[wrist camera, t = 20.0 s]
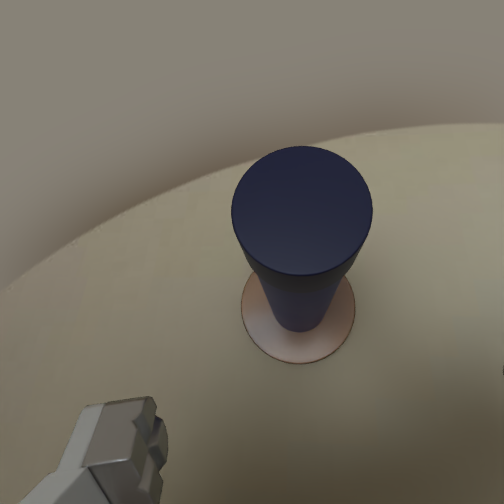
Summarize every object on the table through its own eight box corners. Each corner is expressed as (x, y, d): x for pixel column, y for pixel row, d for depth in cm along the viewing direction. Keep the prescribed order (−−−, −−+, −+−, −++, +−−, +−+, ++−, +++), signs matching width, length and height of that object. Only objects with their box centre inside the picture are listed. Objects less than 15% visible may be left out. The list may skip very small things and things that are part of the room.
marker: (258, 308, 22) (202, 217, 9) (295, 266, 23) (291, 121, 10) (302, 346, 22) (311, 306, 8) (339, 302, 22) (402, 197, 9)
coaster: (220, 312, 23) (218, 310, 23) (290, 233, 24) (290, 229, 24) (304, 389, 22) (305, 389, 21) (377, 300, 22) (379, 298, 22)
